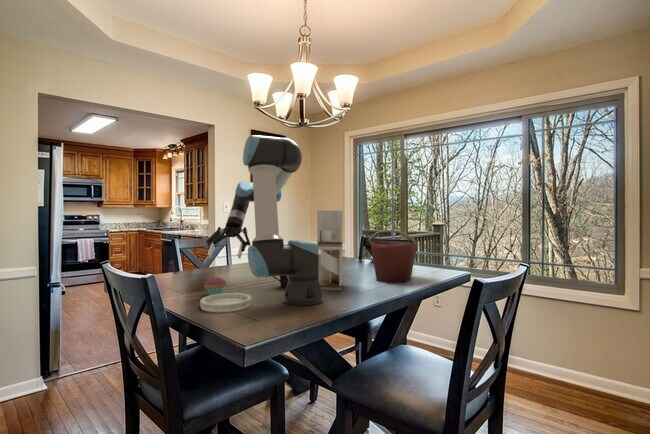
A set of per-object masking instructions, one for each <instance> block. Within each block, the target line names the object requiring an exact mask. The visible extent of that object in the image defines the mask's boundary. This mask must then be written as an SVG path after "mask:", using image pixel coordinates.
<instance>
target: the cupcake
mask: <svg viewBox="0 0 650 434" xmlns="http://www.w3.org/2000/svg"><path fill="white" fill-rule="evenodd" d="M214 270H215V272H214V273H215V274H214V277H210V278H208V279H207V280H206V281H205V282H204V288H205V289H206V290H207V292H208V296H210V295H215V294H221V293H222V292H223V289H224V288H225V287H226V285H227V284H226V283H227V282H226V280H225V279H224V278H221V277H218V266H217V265H215V269H214Z"/></svg>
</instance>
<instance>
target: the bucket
mask: <svg viewBox="0 0 650 434" xmlns="http://www.w3.org/2000/svg"><path fill="white" fill-rule="evenodd" d="M386 232H393V233H394V232H395V233H398V234H401V235H403V236H404V237H407V238H408V239H409V240H410V241H411V242H410V241H409V242H408V241H393V240H392V241H391V240H386V241H385V240H384V241H382V240H381V241H371V240H372V239H375V238H376V237H377V236H378V235H379V234H381V233H386ZM368 242H369V243H370V245H371V246H370V247H371V249H370V250H371V255H372V263H373V266H374V274H375V279H376V282H379V281H380V283H384V282H385V283H386V284H406V283H408V282H410V281H411V277H412V273H413V267H414V263H415V257H416V253H417V245H418V242H417V241H416V239H414V237H413V236H412V235H410V234H408V233H406V232H404V231H402V230H397V229H394V230H393V229H390V230H381V231H376V232H375V233H374V234H373V235H371V237H369V238H368ZM385 283H384V284H385Z"/></svg>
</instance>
